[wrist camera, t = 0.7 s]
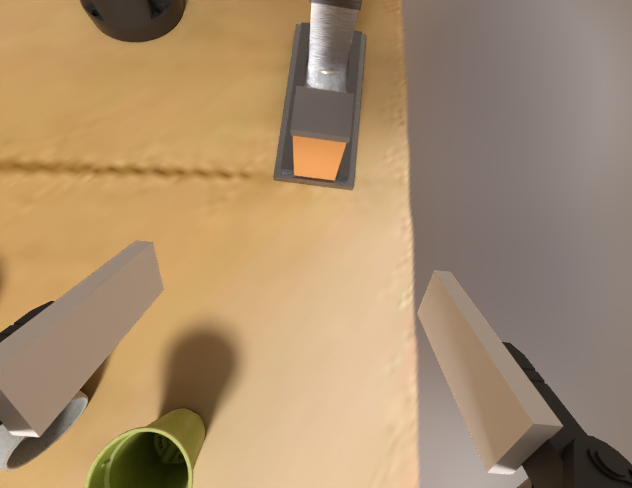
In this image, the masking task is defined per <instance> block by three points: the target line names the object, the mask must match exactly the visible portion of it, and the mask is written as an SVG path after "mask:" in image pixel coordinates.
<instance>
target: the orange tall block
mask: <svg viewBox="0 0 632 488" xmlns="http://www.w3.org/2000/svg"><path fill="white" fill-rule="evenodd" d="M353 103H354V94H351V93H344V92H337V91H330V90H323V89H316V88H309V87H302V86H296V93H295V100H294V107H293V114H292V121H291V128H290V133H291V135H292V136H293V158H294V175H296V176H304V177H311V178H319V179H327V180H335V178H336V174H337V171H338V168H339V165H340V162H341V159H342V155H343V152H344V149H345V146H346V143H349V141H350V137H351V126H352V115H353Z"/></svg>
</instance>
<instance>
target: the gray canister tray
mask: <svg viewBox="0 0 632 488" xmlns="http://www.w3.org/2000/svg"><path fill="white" fill-rule="evenodd" d="M310 2H311V22H310V24H307V23H302V24H301V25H298V24H296V30H295V37H294V43H293V50H292V57H291V63H290V70H289V77H288V84H287V90H286V97H285V104H284V110H283V117H282V124H281V130H280V137H279V144H278V150H277V157H276V164H275V171H274V180H276V181H284V182H292V183H300V184H307V185H315V186H323V187H331V188H339V189H347V190H353V188H354V177H355V165H356V153H357V140H358V128H359V116H360V104H361V92H362V80H363V68H364V56H365V43H366V35H362V32H358V31H354V28H355V23H356V19H357V14H358V10H360V8H361V4H362V0H310ZM296 86H302V87H309V88H316V89H323V90H330V91H337V92H344V93H351V94H354V103H353V115H352V126H351V137H350V141H349V143H346V146H345V149H344V152H343V155H342V159H341V162H340V165H339V168H338V171H337V174H336V178H335V180H327V179H319V178H311V177H304V176H296V175H294V158H293V136H292V135H291V133H290V128H291V121H292V114H293V107H294V100H295V93H296Z"/></svg>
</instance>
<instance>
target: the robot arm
mask: <svg viewBox="0 0 632 488" xmlns="http://www.w3.org/2000/svg"><path fill="white" fill-rule="evenodd" d="M80 2H81V5H82V6H83V8H84V10H85V12H86V13H87V14H88V16H89V17H90V18H91V20H92V21H93V22H94V24H95V25H96V26H97V27H98V28H99V29H100V30H101V31H102V32H103V33H105V34H106V35H108V36H110V37H112V38H115V39H117V40H121V41H127V42H143V41H149V40H153V39H156V38H158V37H160V36H162V35H164V34H166V33H167V32H169V31H170V30H171V29H172V28H174V26H175V25H176V24H177V23H178V22H179V20H180V18H181V16H182V14H183V10H184V0H80ZM163 290H164V287H163V283H162V279H161V275H160V270H159V266H158V262H157V258H156V253H155V249H154V245H153V242H145V241H135V242H133V243H132V244H131V245H129V246H128V247H127V248H125V249H124V250H123V251H121V252H120V253H119V254H117V255H116V256H115V257H113V258H112V259H111V260H109V261H108V262H107V263H105V264H104V265H103V266H102V267H100V268H99V269H98V270H96V271H95V272H94V273H92V274H91V275H90V276H88V277H87V278H86V279H84V280H83V281H82V282H80V283H79V284H78V285H76V286H75V287H74V288H72V289H71V290H70V291H68V292H67V293H66V294H64V295H63V296H62V297H60V298H59V299H58V300H56V301H50V302H48V303H46V304H44V305H42V306H40V307H37V308H35V309H33V310H31V311H30V312H28V313H27V314H26V315H24V316H23V317H21V318H20V319H19V320H17V321H16V322H15V323H14V325H10V326H9V327H8V328H6V329H5V330H3V331H2V332H1V333H0V426H1V425H2V424H3V426H4V427H5V428H6V429H7V430H8V431H9V432H10V433H11V434H12V435H17V436H29V437H40V436H41V435H42V434H43V433H44V432H45V430H46V429H47V428H48V427H49V426H50V424H51V423H52V422H53V421H54V420H55V418H56V417H57V416H58V415H59V414H60V413H61V411H62V410H63V409H64V408H65V407H66V405H67V404H68V403H69V402H70V401H71V399H72V398H73V397H74V396H75V395H76V393H77V392H78V391H79V390H80V389H81V388H82V386H83V385H84V384H85V383H86V382H87V380H88V379H89V378H90V377H91V376H92V374H93V373H94V372H95V371H96V370H97V368H98V367H99V366H100V365H101V364H102V363H103V361H104V360H105V359H106V358H107V357H108V355H109V354H110V353H111V352H112V351H113V349H114V348H115V347H116V346H117V345H118V343H119V342H120V341H121V340H122V339H123V338H124V336H125V335H126V334H127V333H128V332H129V330H130V329H131V328H132V327H133V326H134V324H135V323H136V322H137V321H138V320H139V318H140V317H141V316H142V315H143V314H144V313H145V311H146V310H147V309H148V308H149V307H150V305H151V304H152V303H153V302H154V301H155V299H156V298H157V297H158V296H159V295H160V293H161V292H162V291H163ZM417 314H418V316H419V318H420V321H421V323H422V325H423V327H424V330H425V332H426V334H427V337H428V339H429V341H430V343H431V346H432V348H433V350H434V353H435V355H436V357H437V360H438V362H439V364H440V366H441V369H442V371H443V373H444V376H445V378H446V380H447V382H448V385H449V387H450V389H451V391H452V394H453V396H454V398H455V401H456V402H457V405H458V407H459V410H460V412H461V414H462V417H463V419H464V421H465V423H466V426H467V428H468V430H469V433H470V435H471V437H472V439H473V442H474V444H475V446H476V449H477V451H478V453H479V455H480V458H481V460H482V462H483V464H484V467H485V469H486V471H487V473H499V474H513V473H514V472H515V471H516V470H517V469H518V468H519V467H520V466H521V465H522V466H523V468H524V470H525V471H526V473H527V475H528V477H529V478H528V479H527V480H525V481H524V482H523V483H522V484H521V485H520V486H519V487H517V488H632V465H631V463H630V462H629V461H628V460H627V459H626V458H624V457H623V456H622V455H621V454H620V453H619V452H618V451H616V450H615V449H614V448H612V447H611V446H610V445H608V444H607V443H605V442H603V441H601V440H599V439H597V438H595V437H593V436H588V435H587V434H586V433H585V432H584V430H583V429H582V428H581V427H580V425H579V424H578V423H577V422H576V420H575V419H574V418H573V416H572V415H571V414H570V413H569V411H568V410H567V409H566V408H565V406H564V405H563V404H562V402H561V401H560V400H559V399H558V397H557V396H556V395H555V394H554V392H553V391H552V390H551V388H550V387H549V386H548V385H547V384H545V383H544V380H543V378H542V377H541V376H540V374H539V373H538V372H536V371H535V368H534V367H533V366H532V364H531V363H530V362H529V360H528V359H527V358H526V357H525V355H524V354H522V353H521V352H520V351H519V350H518V349H516V348H515V347H514V346H513V345H512V344H510V343H506V342H501V341H500V339H499V338H498V337H497V335H496V334H495V332H494V331H493V330H492V328H491V327H490V325H489V324H488V323H487V321H486V320H485V319H484V317H483V316H482V315H481V313H480V312H479V310H478V309H477V308H476V306H475V305H474V304H473V302H472V301H471V300H470V298H469V297H468V296H467V294H466V293H465V291H464V290H463V289H462V287H461V286H460V285H459V283H458V282H457V280H456V279H455V278H454V276H453V275H452V274H451V272H446V271H436V270H435V271H434V272H433V275H432V278H431V280H430V283H429V285H428V288H427V290H426V293H425V295H424V298H423V300H422V303H421V305H420V308H419V311H418V313H417Z"/></svg>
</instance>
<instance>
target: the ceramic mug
mask: <svg viewBox="0 0 632 488" xmlns="http://www.w3.org/2000/svg"><path fill="white" fill-rule="evenodd" d="M87 404H88V397H87V396H86V395H85V394H84V393H83V392H81V391H78V392H77V393H76V395H75V396H74V397H73V398H72V399H71V401H70V402H69V403H68V404H67V405H66V407H65V408H64V409H63V410H62V411H61V413H60V414H59V415H58V416H57V417H56V418H55V420H54V421H53V422H52V423H51V424H50V426H49V427H48V428H47V429H46V430H45V432H44V433H43V434H42V435H41V436H40V437H29V436H17V435H12V434H11V433H10V432H9V431H8V430H7V429H6V428H5V427H4V426H3V424H2V425H1V426H0V469H2V470H3V471H12V470H15V469H17V468H19V467H21V466H23V465H25V464H27V463H28V462H30V461H31V460H33V459H34V458H36V457H37V456H39V455H40V454H41V453H43V452H44V451H45V450H47V449H48V448H49V447H50V446H51V445H53V444H54V443H55V442H56V441H57V440H58V439H59V438H60V437H62V436H63V435H64V434H65V433H66V432H67V431H68V430H69V429H70V427H71V426H72V425H73V424H74V423H75V422H76V421H77V419H78V418H79V417H80V415H81V414H82V413H83V411H84V410H85V408H86V406H87Z"/></svg>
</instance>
